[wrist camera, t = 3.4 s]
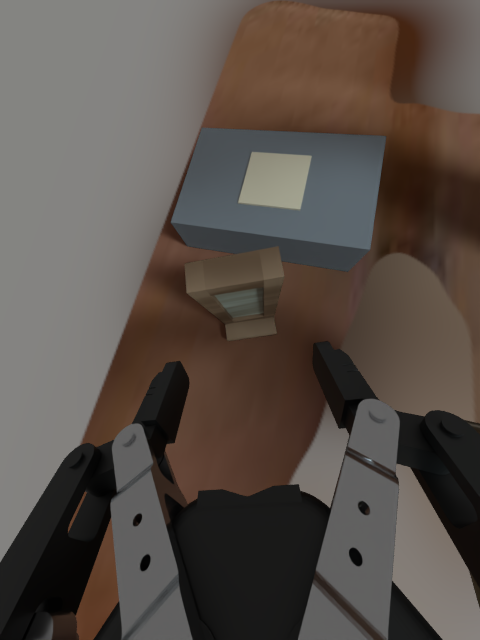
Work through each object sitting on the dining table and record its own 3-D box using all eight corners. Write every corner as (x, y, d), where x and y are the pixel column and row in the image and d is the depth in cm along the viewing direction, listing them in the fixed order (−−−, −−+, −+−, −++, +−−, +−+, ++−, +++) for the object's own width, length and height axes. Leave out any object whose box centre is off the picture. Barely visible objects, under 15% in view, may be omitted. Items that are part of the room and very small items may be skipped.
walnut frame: (276, 334, 23) (290, 309, 11) (228, 341, 24) (188, 324, 11) (268, 289, 24) (273, 217, 12) (223, 296, 25) (182, 236, 12)
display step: (363, 177, 26) (387, 134, 21) (348, 271, 24) (371, 248, 18) (212, 165, 29) (201, 125, 24) (187, 246, 27) (169, 221, 22)
